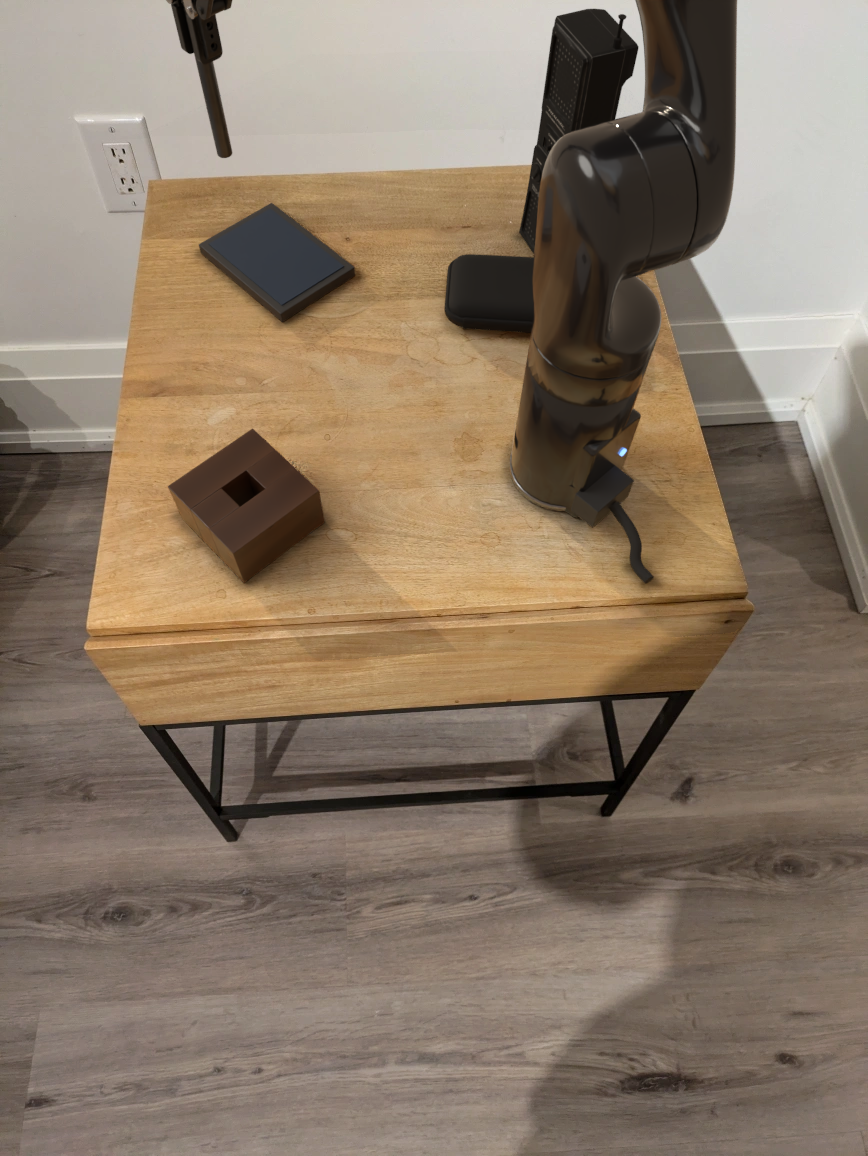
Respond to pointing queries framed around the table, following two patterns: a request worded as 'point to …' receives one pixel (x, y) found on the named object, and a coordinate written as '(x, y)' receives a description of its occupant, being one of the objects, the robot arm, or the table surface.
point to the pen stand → (248, 504)
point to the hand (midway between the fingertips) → (203, 53)
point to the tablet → (277, 261)
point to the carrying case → (490, 293)
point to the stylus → (213, 104)
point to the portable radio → (578, 88)
